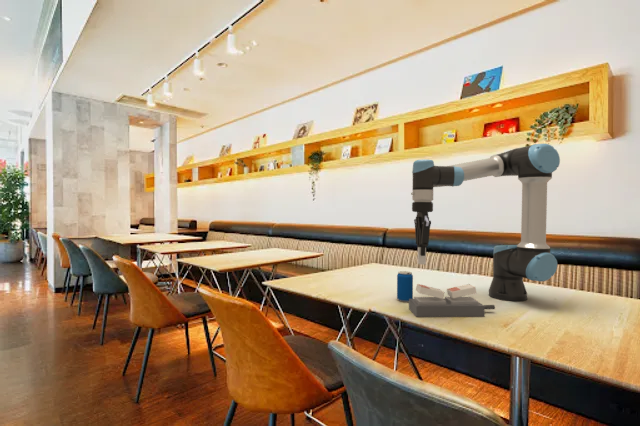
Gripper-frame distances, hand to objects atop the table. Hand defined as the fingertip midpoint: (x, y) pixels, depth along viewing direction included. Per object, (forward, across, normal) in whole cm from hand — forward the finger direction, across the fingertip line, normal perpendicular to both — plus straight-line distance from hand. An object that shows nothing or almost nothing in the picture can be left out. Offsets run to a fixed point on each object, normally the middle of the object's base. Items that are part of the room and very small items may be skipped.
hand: (421, 264), depth 133 cm
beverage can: (+19, -17, -2) cm, 25 cm away
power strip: (+18, 0, +12) cm, 22 cm away
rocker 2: (+11, 0, +16) cm, 19 cm away
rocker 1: (+11, 0, +3) cm, 12 cm away
